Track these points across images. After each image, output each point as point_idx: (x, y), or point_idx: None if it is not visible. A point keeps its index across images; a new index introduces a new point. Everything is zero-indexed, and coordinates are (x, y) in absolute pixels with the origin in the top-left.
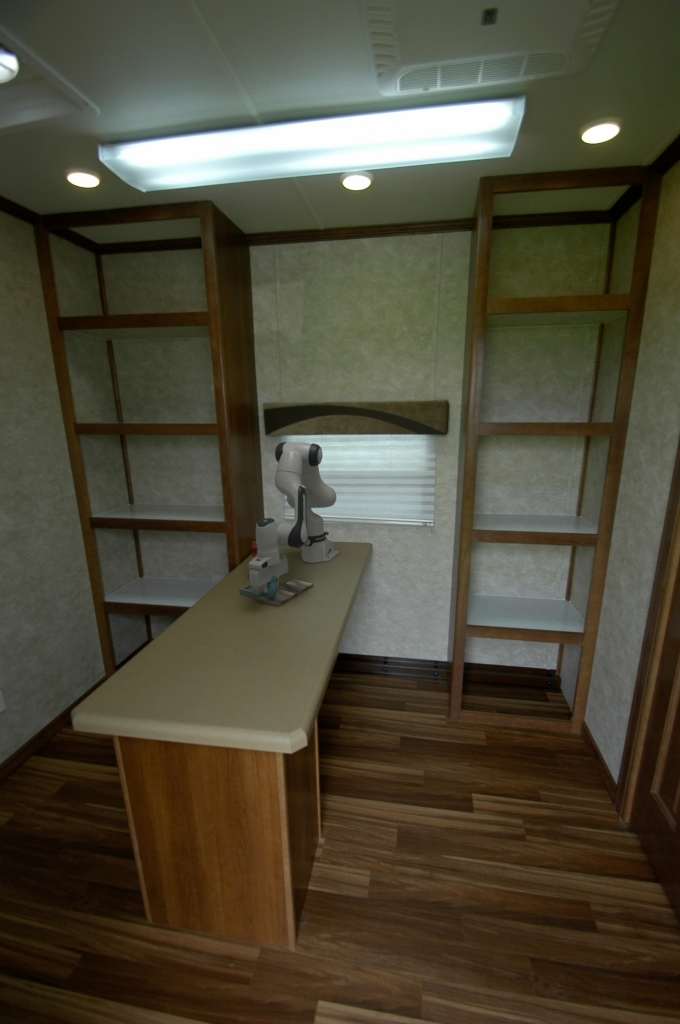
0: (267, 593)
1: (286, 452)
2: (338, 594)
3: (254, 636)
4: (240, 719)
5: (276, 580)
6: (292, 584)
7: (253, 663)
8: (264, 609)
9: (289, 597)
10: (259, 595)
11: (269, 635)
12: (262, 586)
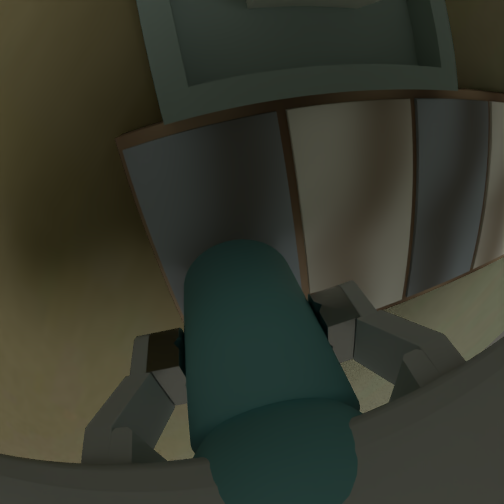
0: (184, 310)
1: None
2: None
3: (24, 428)
4: None
5: (391, 365)
6: (495, 163)
7: None
8: (109, 314)
9: None
10: (166, 121)
11: (70, 449)
12: (104, 417)
